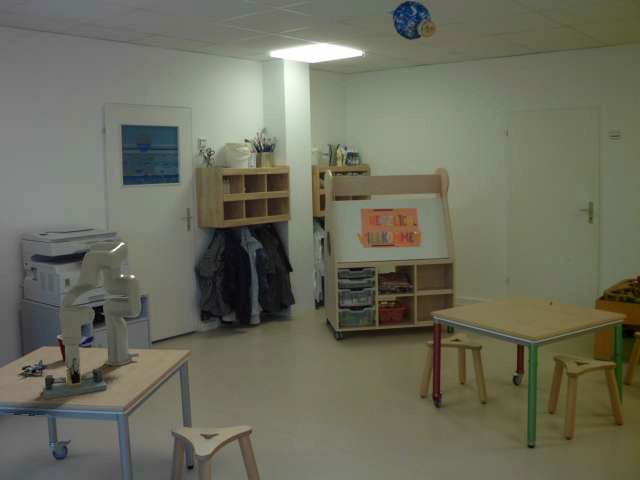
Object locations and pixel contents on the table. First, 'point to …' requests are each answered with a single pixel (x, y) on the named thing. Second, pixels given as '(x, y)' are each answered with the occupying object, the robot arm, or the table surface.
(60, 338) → the plastic cup
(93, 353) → the table surface
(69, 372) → the olive yellow block
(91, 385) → the board
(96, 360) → the table surface
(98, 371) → the shaft
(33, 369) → the toy airplane
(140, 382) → the table surface
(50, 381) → the shaft
